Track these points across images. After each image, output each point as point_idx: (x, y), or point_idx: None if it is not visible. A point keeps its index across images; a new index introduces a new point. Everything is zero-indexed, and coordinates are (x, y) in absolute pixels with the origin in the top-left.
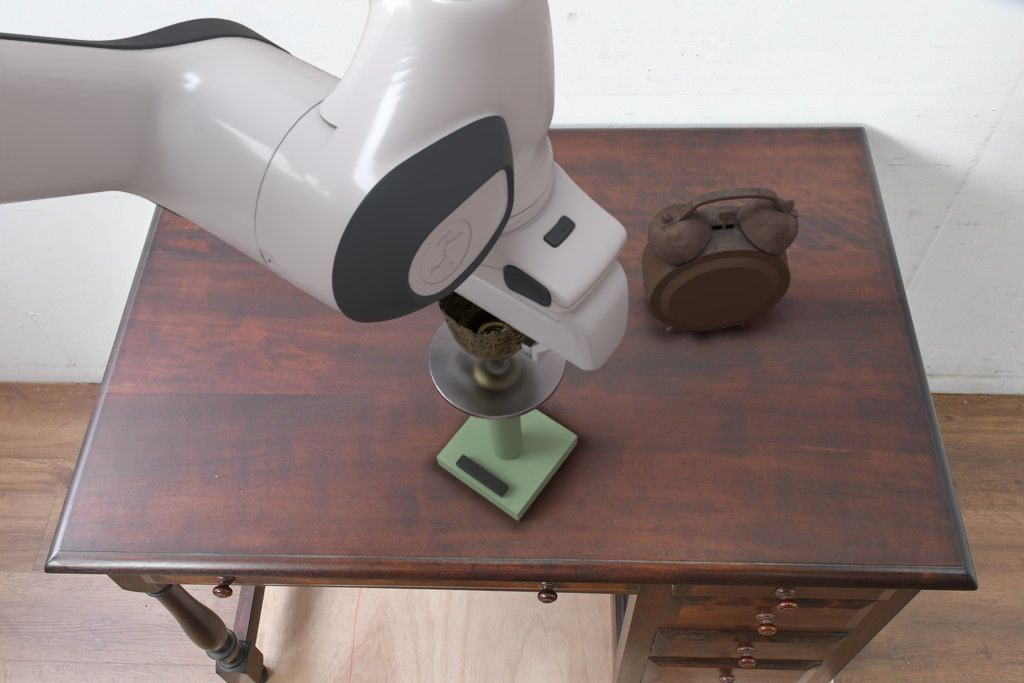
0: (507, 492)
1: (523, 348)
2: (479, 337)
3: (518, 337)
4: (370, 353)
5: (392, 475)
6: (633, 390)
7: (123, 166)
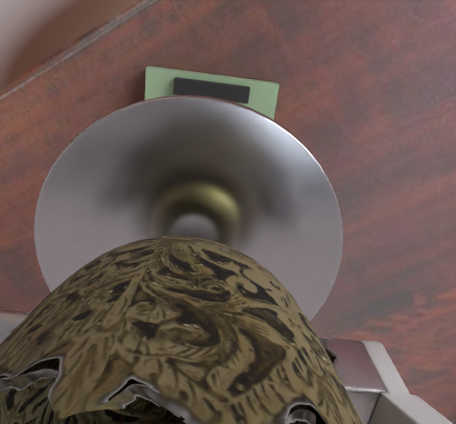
0: (173, 87)
1: (4, 338)
2: (30, 362)
3: None
4: (424, 170)
5: (322, 38)
6: None
7: None
